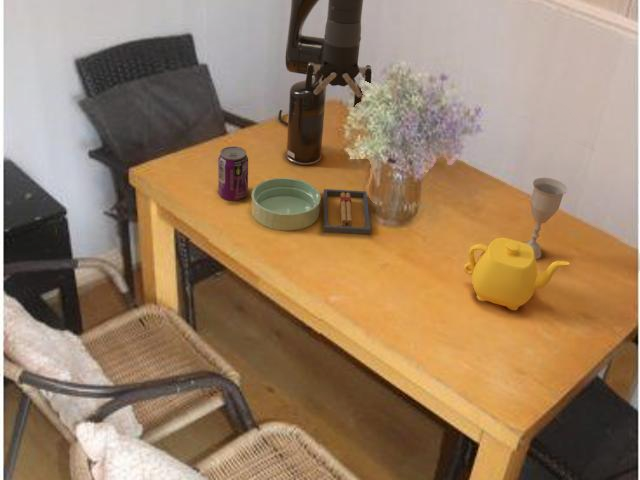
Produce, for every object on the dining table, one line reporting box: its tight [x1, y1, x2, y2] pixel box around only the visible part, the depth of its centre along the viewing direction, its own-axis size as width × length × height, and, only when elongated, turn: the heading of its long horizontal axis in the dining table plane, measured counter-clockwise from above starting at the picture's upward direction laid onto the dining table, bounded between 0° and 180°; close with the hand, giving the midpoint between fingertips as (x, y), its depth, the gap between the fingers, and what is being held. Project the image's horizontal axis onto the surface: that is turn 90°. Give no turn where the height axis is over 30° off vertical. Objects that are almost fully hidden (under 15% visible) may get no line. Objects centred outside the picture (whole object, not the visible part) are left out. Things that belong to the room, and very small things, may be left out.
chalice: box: [524, 177, 568, 260], centre depth 164 cm, size 7×7×18 cm
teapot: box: [463, 237, 571, 311], centre depth 152 cm, size 14×20×13 cm
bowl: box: [250, 177, 322, 231], centre depth 173 cm, size 16×16×5 cm
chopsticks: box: [339, 192, 353, 227], centre depth 175 cm, size 12×2×2 cm, turn 0°
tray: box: [323, 188, 371, 236], centre depth 175 cm, size 17×11×2 cm, turn 1°
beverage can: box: [217, 145, 249, 202], centre depth 176 cm, size 7×7×12 cm
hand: (335, 109), depth 163 cm, fingers open, 8 cm apart
